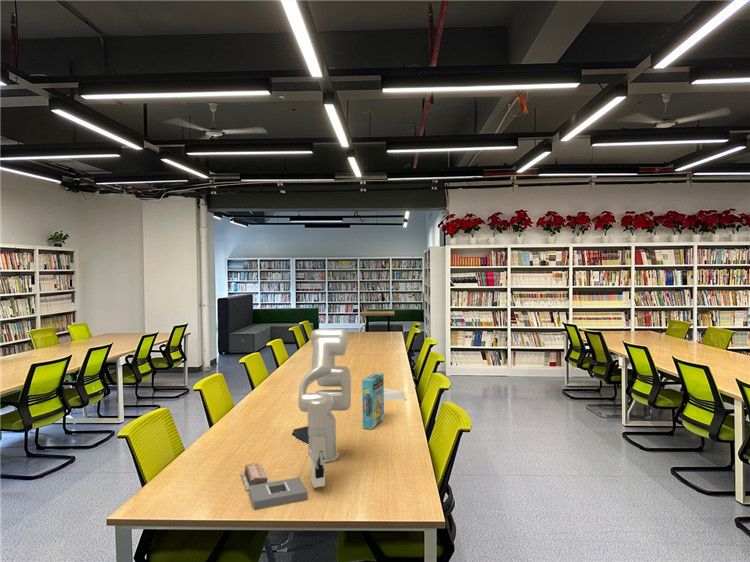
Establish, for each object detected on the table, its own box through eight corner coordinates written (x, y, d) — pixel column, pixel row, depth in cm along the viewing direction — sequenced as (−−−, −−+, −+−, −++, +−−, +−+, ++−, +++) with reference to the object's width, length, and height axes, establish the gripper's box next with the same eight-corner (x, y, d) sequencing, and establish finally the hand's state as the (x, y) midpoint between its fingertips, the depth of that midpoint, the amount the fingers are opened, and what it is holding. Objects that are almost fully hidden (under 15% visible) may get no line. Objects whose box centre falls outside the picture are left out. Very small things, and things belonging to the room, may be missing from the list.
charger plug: (311, 482, 193) (310, 451, 192) (321, 480, 194) (321, 449, 194) (314, 487, 189) (313, 455, 188) (324, 485, 190) (324, 453, 190)
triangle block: (404, 401, 320) (404, 392, 320) (377, 409, 301) (377, 399, 301) (372, 393, 341) (372, 385, 340) (345, 401, 322) (345, 391, 322)
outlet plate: (249, 493, 188) (248, 485, 187) (299, 484, 195) (299, 476, 195) (254, 509, 175) (253, 500, 174) (307, 499, 182) (307, 490, 182)
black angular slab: (312, 431, 262) (311, 423, 262) (330, 441, 246) (330, 433, 246) (290, 436, 254) (290, 428, 254) (307, 446, 238) (307, 438, 238)
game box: (373, 430, 261) (372, 380, 261) (362, 428, 263) (361, 380, 263) (384, 419, 281) (384, 373, 280) (374, 418, 283) (373, 372, 282)
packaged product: (240, 464, 205) (263, 460, 209) (240, 475, 205) (263, 471, 209) (246, 481, 189) (271, 476, 193) (246, 493, 189) (271, 488, 193)
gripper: (303, 424, 197) (303, 468, 198) (313, 438, 181) (314, 485, 182) (320, 422, 200) (321, 465, 200) (332, 435, 184) (333, 482, 185)
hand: (318, 474), depth 191 cm, fingers closed on charger plug, 4 cm apart
